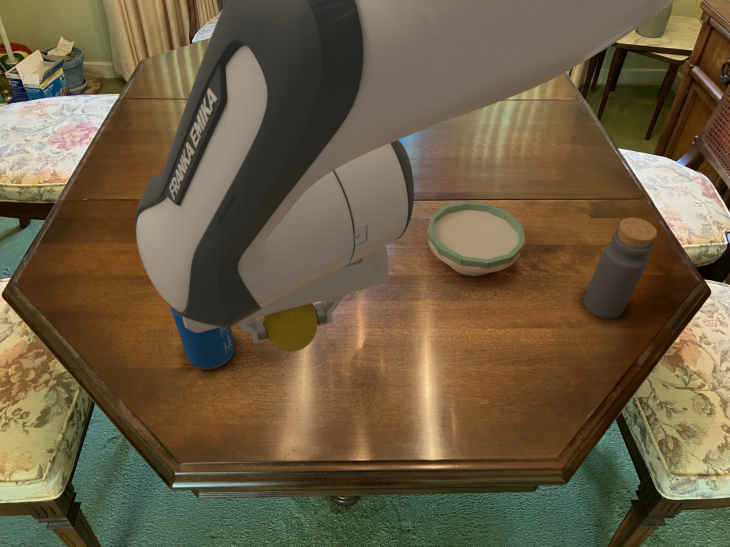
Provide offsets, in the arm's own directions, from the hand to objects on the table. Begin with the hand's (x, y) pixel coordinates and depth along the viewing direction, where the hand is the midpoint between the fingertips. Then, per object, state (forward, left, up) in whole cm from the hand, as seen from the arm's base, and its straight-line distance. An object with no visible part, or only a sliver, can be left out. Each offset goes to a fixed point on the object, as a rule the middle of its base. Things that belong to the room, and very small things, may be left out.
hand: (292, 328), depth 58 cm
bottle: (+2, -48, -17) cm, 51 cm away
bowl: (+18, -34, -16) cm, 42 cm away
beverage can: (+13, +9, -17) cm, 23 cm away
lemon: (0, 0, -3) cm, 3 cm away
